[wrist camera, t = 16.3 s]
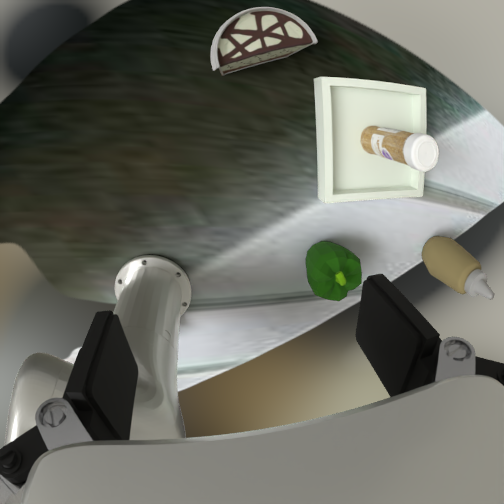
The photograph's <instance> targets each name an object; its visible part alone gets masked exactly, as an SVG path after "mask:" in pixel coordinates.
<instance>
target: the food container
mask: <svg viewBox="0 0 504 504" xmlns="http://www.w3.org/2000/svg"><path fill="white" fill-rule="evenodd" d="M317 43H318V41H317V39H316V37H315V35H314V33H313V32H312V30H311V29H310V28H309V26H308V25H307V24H306V23H305V22H304V21H302V20H301V19H300V18H298V17H297V16H295V15H294V14H292V13H289V12H287V11H285V10H281V9H278V8H271V7H257V8H251V9H248V10H244V11H242V12H240V13H238V14H236V15H234V16H233V17H231V18H230V19H229V20H227V21H226V22H225V23H224V24H223V25H222V26H221V27H220V29H219V30H218V32H217V33H216V35H215V37H214V39H213V43H212V46H211V64H212V68H213V71H215V70H216V69H217V68H219V70H220V72H221V74H222V75H225V74H228V73H232V72H235V71H238V70H241V69H245V68H248V67H252V66H255V65H259V64H262V63H266V62H270V61H274V60H278V59H282V58H286V57H288V56H290V55H292V54H294V53H296V52H298V51H300V50H302V49H304V48H306V47H308V46H310V45H312V44H317Z"/></svg>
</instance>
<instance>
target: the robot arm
mask: <svg viewBox="0 0 504 504" xmlns="http://www.w3.org/2000/svg"><path fill="white" fill-rule="evenodd" d="M144 260H146V261H144ZM177 272H179V273H177ZM120 279H121V280H120ZM115 294H116V297H117V300H118V302H117V304H116V307H115V310H114V312H112V311H102V312H97V313H96V315H95V317H94V319H93V322H92V324H91V326H90V329H89V331H88V334H87V336H86V339H85V341H84V344H83V346H82V348H81V349H80V350H79V353H78V355H77V358H76V361H75V363H74V364H72V363H70V362H67V361H65V360H62V359H60V358H58V357H55V356H53V355H50V354H46V353H34V354H32V355H30V356H29V357H27V358H26V359H25V361H24V362H23V363H22V365H21V367H20V369H19V371H18V374H17V376H16V379H15V383H14V386H13V391H12V395H11V400H10V406H9V413H8V420H7V428H6V436H5V446H4V447H3V448H2V449H0V504H504V364H503V363H499V362H495V361H491V360H487V359H484V358H480V357H476V356H475V350H474V348H473V346H472V345H471V344H470V343H469V342H468V341H466V340H464V339H463V338H459V337H448V338H446V339H444V340H443V341H442V340H441V339H440V338H439V336H440V334H439V333H438V332H437V331H436V330H435V329H434V328H433V327H432V326H431V324H430V323H429V322H428V321H427V320H426V319H425V318H424V317H423V316H422V315H421V313H420V312H419V311H418V310H417V309H416V308H415V307H414V306H413V305H412V304H411V303H410V302H409V301H408V300H407V299H406V297H404V295H403V294H402V293H401V292H400V291H399V290H398V289H397V288H396V287H395V286H394V285H393V284H392V283H391V282H390V281H389V280H388V279H387V278H386V277H385V276H384V275H383V274H377V275H371V276H368V277H367V280H365V281H364V282H363V288H362V296H361V303H360V310H359V316H358V323H357V329H356V340H357V342H358V344H359V345H360V347H361V349H362V350H363V352H364V354H365V355H366V357H367V359H368V360H369V361H370V363H371V365H372V367H373V368H374V370H375V372H376V373H377V375H378V377H379V378H380V380H381V382H382V383H383V385H384V387H385V388H386V390H387V392H388V393H389V395H390V398H387V399H384V400H381V401H378V402H375V403H371V404H368V405H365V406H362V407H358V408H355V409H351V410H348V411H344V412H340V413H336V414H332V415H328V416H324V417H320V418H316V419H312V420H307V421H303V422H298V423H293V424H289V425H283V426H278V427H272V428H267V429H261V430H254V431H247V432H240V433H233V434H225V435H216V436H206V437H195V438H185V437H186V436H185V428H184V422H183V418H182V414H181V410H180V405H179V400H178V392H177V360H178V342H179V326H180V317H181V316H182V315H183V314H184V313H185V311H186V310H187V308H188V307H189V304H190V302H191V284H190V281H189V279H188V276H187V275H186V273H185V272H184V270H183V269H182V268H181V267H180V266H179V265H177V264H176V263H174V262H173V261H171V260H169V259H167V258H165V257H161V256H156V255H143V256H139V257H135V258H134V259H132V260H130V261H128V262H127V263H126V264H125V265H124V266H123V267H122V268H121V269H120V271H119V273H118V275H117V278H116V280H115Z"/></svg>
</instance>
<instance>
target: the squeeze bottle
mask: <svg viewBox="0 0 504 504" xmlns="http://www.w3.org/2000/svg"><path fill="white" fill-rule="evenodd" d="M422 259H423V261H424V263H425V265H426V267H427V269H428V271H429V272H430V274H431V275H432V276H434V277H436V278H437V279H439V280H440V281H442V282H443V283H445V284H446V285H448V286H449V287H451V288H452V289H454V290H455V291H457V292H458V293H460V294H465V293H467V294H469V295H470V296H471V297H475V296H477V295H479V294H480V295H482V296H484V297H486V298H488V299H490V300H491V299H493V297H494V293H493V291H492V290H491V289H490V287H489V286H488V285H487V283H486V282H487V276H486V274H485V273H484V272H483V271H481V265H480V263H479V262H478V261H477V260H476V259H475V258H474V257H473V256H472V255H471V254H469V253H468V252H467V251H466V250H465V249H464V248H463V247H462V246H460V245H459V244H458V243H457V242H456V241H455V240H453V239H451V238H447V237H440V236H434V237H432V238H430V239H429V240H428V241H427V242H426V243H425V245H424V247H423V250H422Z"/></svg>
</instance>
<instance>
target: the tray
mask: <svg viewBox="0 0 504 504" xmlns="http://www.w3.org/2000/svg"><path fill="white" fill-rule="evenodd" d="M314 90H315V108H316V131H317V168H318V199H320V200H321V201H322V202H324V203H325V204H326V203H337V202H349V201H362V200H376V199H390V198H406V197H423V188H424V175H425V172H421V171H418V170H415V169H413V168H411V167H410V166H409V165H405V164H403V163H399V162H397V161H393V160H389V159H386V158H383V157H380V156H378V155H375V154H370V153H367V152H366V151H365V150H364V149H363V147H362V145H361V141H360V140H361V134H362V132H363V130H364V129H365V128H367V127H368V126H377V127H384V128H391V129H397V130H402V131H406V132H410V133H423V134H426V88H421V87H415V86H409V85H403V84H396V83H389V82H381V81H372V80H362V79H351V78H337V77H318V78H315V79H314Z"/></svg>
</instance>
